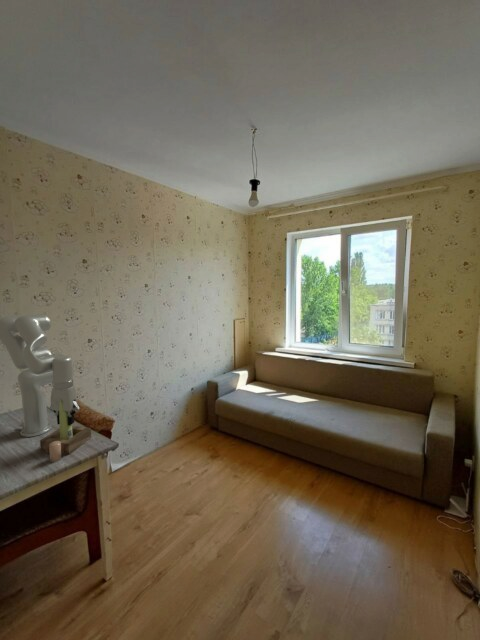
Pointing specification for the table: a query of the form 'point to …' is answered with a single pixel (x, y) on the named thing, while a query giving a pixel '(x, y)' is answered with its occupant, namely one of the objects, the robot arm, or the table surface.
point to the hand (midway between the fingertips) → (65, 423)
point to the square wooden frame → (69, 445)
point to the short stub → (55, 451)
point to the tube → (64, 424)
